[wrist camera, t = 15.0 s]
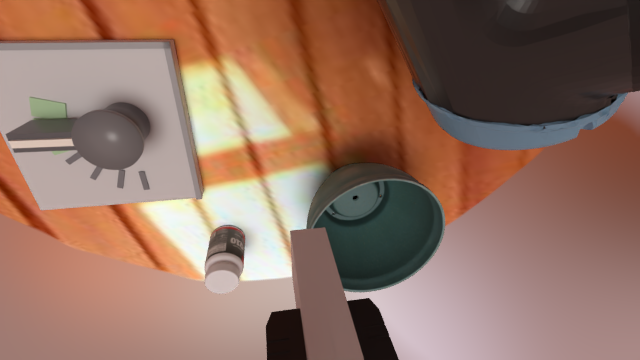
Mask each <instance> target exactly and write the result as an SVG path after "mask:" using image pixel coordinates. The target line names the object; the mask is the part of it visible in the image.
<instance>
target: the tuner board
mask: <svg viewBox="0 0 640 360" xmlns="http://www.w3.org/2000/svg"><path fill="white" fill-rule="evenodd" d="M29 97H35V98H40V99H46V100H51V101H56V102H62V103H66V107H67V119H79V118H80V117H81V116H83V115H84V114H86V113H88V112H90V111H93V110H99V109H105V108H107V107H108V106H109V105H111V104H114V103H119V102H124V103H129V104H132V105H134V106H136V107H138V108H139V109H141V110H142V111H143V112H144V113H145V115H146V116H147V117H148V120H149V122H150V133H149V135H148V136H147V138H146V139H145V140H144V151H143V153H142V155H141V157H140V158H139V159H138V161H137V162H136V163H135V164H133V165H132V166H130V167H128V168H125V169H121V170H125V177H124V186H123V189H122V188H117V182H118V172H119V170H108V169H102V171H101V172H100V174H99V176H98V177H97V179H96V180H93V179H91V178H90V176H91V175H92V173H93V171H94V170H95V168H96V167H97V166H95V165H93V164H91V163H90V162H88V161H87V160H85V159H84V158H83V157H81V158H79V159H78V160H76V161H75V162H73V163H72V164H70V165H69V164H68V163H67V162H66V161H65V160H67V159H68V158H70V157H71V156H73V155H74V154H76V153H77V150H71V151H67V152H64V153H61V154H57V155H54V154H53V153H52V151H45V152H21V153H14V151H13V149H12V147H11V145H10V143H9V141H8V139H7V137H6V135H5V134H7V133H9V132H10V131H12V130H14V129H16V128H18V127H20V126H21V125H23V124H25V123H27V122H29V121H30V120H33V118H41V117H36V116H31V109H30V102H29ZM0 132H1V134H2V136H3V138H4V140H5V142H6V144H7V145H8V147H9V149H10V151H11V153H12V155H13V157H14V159H15V161H16V163H17V165H18V167H19V169H20V171H21V173H22V175H23V176H24V178H25V180H26V182H27V184H28V186H29V188H30V190H31V192H32V194H33V196H34V198H35V200H36V202H37V204H38V206H39V207H40V209H41V210H51V209H63V208H76V207H88V206H101V205H113V204H126V203H138V202H151V201H163V200H176V199H188V198H196V199H202V196H203V192H204V190H203V185H202V180H201V175H200V170H199V165H198V160H197V155H196V150H195V145H194V140H193V135H192V130H191V125H190V120H189V115H188V110H187V105H186V100H185V95H184V90H183V85H182V80H181V75H180V70H179V65H178V60H177V55H176V50H175V45H174V40H173V39H172V40H43V41H0ZM139 171H145V174H146V178H147V181H148V184H149V188H150V189H149V190H144V189H143V185H142V182H141V179H140V176H139V173H138V172H139Z"/></svg>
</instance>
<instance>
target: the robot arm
mask: <svg viewBox="0 0 640 360" xmlns="http://www.w3.org/2000/svg"><path fill="white" fill-rule="evenodd" d="M377 1H378V3H379V5H380V8H381V10H382V12H383V14H384V16H385V18H386V21H387V23H388V25H389V27H390V29H391V31H392V34H393V36H394V38H395V40H396V42H397V45H398V47H399V49H400V51H401V53H402V55H403V58H404V60H405V62H406V64H407V66H408V68H409V71H410V73H411V75H412V77H413V85H414V87H415V90H416V91H417V93H418V95H419V96H420V97H421V98H422V100H423V101H425V102H426V104H427V106H428V108H429V110H430V112H431V113H432V115H433V117H434V119H435V121H436V122H437V123H438V125H439V126H440V127H441V128H442V129H443V130H445V131H446V132H447V133H449V134H450V135H451V136H452V137H454V138H456V139H458V140H460V141H462V142H464V143H467V144H470V145H473V146H477V147H482V148H488V149H497V150H524V149H534V148H541V147H546V146H551V145H555V144H558V143H562V142H565V141H568V140H571V139H573V138H576V137H577V135H578V133H579V130H580V129H587V130H592V129H594V128H596V127H598V126H599V125H601V124H603V123H604V122H605V121H606V120H608V119H609V118H610V117H611V116H612V115H613V114H614V113H615V112H616V111H617V109H618V108H619V106H620V104H621V103H622V102H623V101H624V99H625V97H626V95H627V94H628V92H635V91H640V0H377ZM290 233H291V255H292V277H293V285H294V293H295V301H296V308H297V309H292V310H284V311H277V312H272V313H271V315H270V318H269V320H268V323H267V325H266V340H267V360H399V359H398V357H397V354H396V352H395V349H394V347H393V344H392V341H391V339H390V337H389V334H388V331H387V329H386V326H385V325H384V321H383V318H382V316H381V313H380V311H379V309H378V308H377V307H376V305H375V304H374V303H373V302H372V301H371V300H370V299H369V298H366V299H359V300H351V301H347V300H346V297H345V293H344V290H343V286H342V283H341V280H340V276H339V273H338V270H337V266H336V263H335V259H334V256H333V253H332V249H331V246H330V242H329V239H328V236H327V232H326V229H325V227H323V228H313V229H303V230H293V231H290Z"/></svg>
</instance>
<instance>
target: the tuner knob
mask: <svg viewBox="0 0 640 360" xmlns="http://www.w3.org/2000/svg"><path fill="white" fill-rule="evenodd" d="M149 133H150V122H149V120H148V117H147V116H146V115H145V113H144V112H143V111H142V110H141V109H139V108H138V107H136V106H134V105H132V104H129V103H124V102H119V103H114V104H111V105H109V106H108V107H107V108H105V109H99V110H93V111H90V112H88V113H86V114H84V115H83V116H81V117H80V118H79V119H52V120H30V121H29V122H27V123H25V124H23V125H21V126H20V127H18V128H16V129H14V130H12V131H10V132H9V133H7V134H5V135H6V137H7V139H8V141H9V143H10V145H11V147H12V149H13V151H14V153H21V152H45V151H68V150H77V152H78V153H79V154H80V155H81V156H82V157H83V158H84V159H85V160H87V161H88V162H90V163H91V164H93V165H95V166H97V167H100V168H103V169H108V170H121V169H125V168H128V167H130V166H132V165H133V164H135V163H136V162H137V161H138V159H139V158H140V157H141V155H142V153H143V151H144V140H145V139H146V138H147V136H148V135H149Z"/></svg>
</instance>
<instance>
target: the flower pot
mask: <svg viewBox="0 0 640 360" xmlns="http://www.w3.org/2000/svg"><path fill="white" fill-rule="evenodd" d="M380 195H381V197H380ZM353 196H357V197H358V198H357V199H353ZM334 212H335V213H334ZM332 213H334V214H332ZM323 227H325V229H326V232H327V236H328V239H329V242H330V246H331V249H332V253H333V256H334V259H335V263H336V266H337V270H338V273H339V276H340V280H341V283H342V286H343V290H344V291H349V292H371V291H376V290H381V289H385V288H388V287H391V286H394V285H396V284H398V283H400V282H402V281H404V280H406V279H408V278H409V277H411V276H413V275H414V274H415V273H417V272H418V271H419V270H421V268H423V267H424V266H425V265H426V264H427V262H428V261H429V260H430V259H431V258H432V257H433V256H434V254H435V253H436V251H437V249H438V247H439V245H440V243H441V241H442V238H443V235H444V230H445V215H444V210H443V208H442V205H441V203H440V201H439V200H438V198H437V197H436V196H435V195H434V194H433V193H432V192H431V191H430V190H429V189H428V188H427V187H426V186H424V185H423V184H421V183H419V182H418V181H417V180H416V179H414V178H413V177H412V176H410V175H408V174H407V173H405V172H403V171H401V170H399V169H397V168H394V167H391V166H388V165H384V164H378V163H354V164H348V165H345V166H343V167H341V168H339V169H337V170H335V171H334V172H333V173H332V174H331V175H330V176H329V177H328V178H327V179H326V181H325V182H324V183H323V184H322V185H321V187H320V188H319V190H318V191H317V193H316V194H315V196H314V199H313V201H312V203H311V206H310V210H309V214H308V219H307V229H313V228H323Z"/></svg>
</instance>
